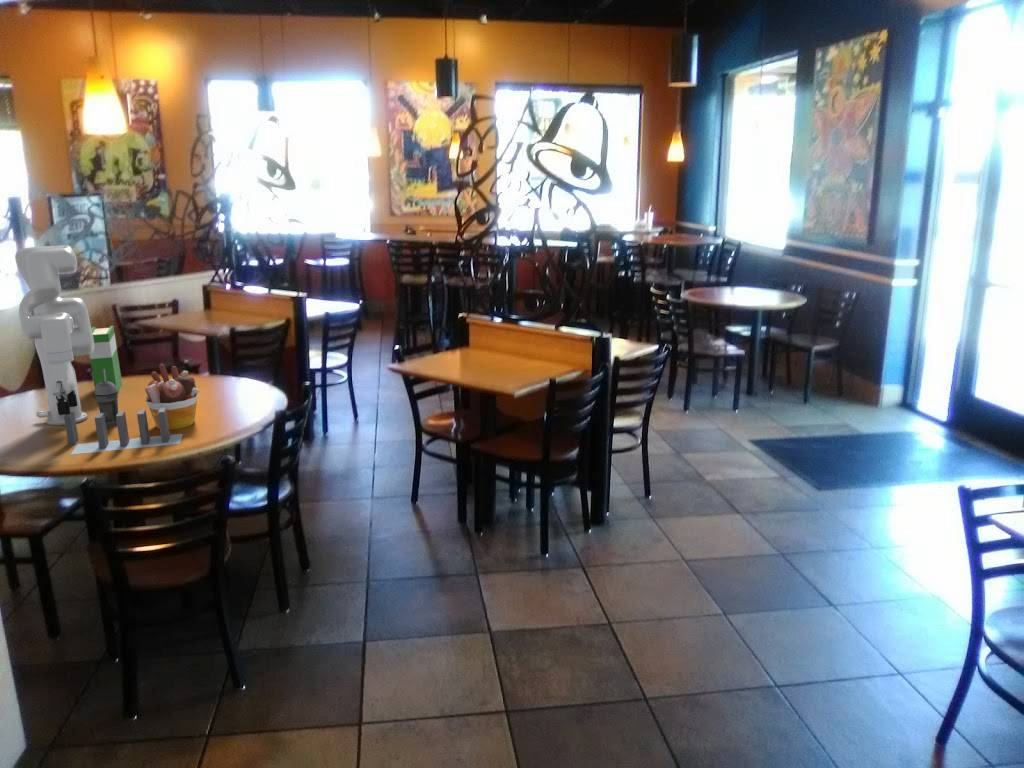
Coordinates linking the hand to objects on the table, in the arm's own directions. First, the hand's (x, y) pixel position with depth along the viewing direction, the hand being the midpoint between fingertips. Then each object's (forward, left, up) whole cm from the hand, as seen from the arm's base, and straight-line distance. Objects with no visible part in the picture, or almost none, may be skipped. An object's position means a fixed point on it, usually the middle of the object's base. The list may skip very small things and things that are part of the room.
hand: (68, 410), depth 254 cm
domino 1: (0, +1, -11) cm, 11 cm away
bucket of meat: (+29, +11, -12) cm, 33 cm away
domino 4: (+22, -6, -11) cm, 25 cm away
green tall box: (-1, +68, -12) cm, 69 cm away
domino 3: (+16, -6, -11) cm, 20 cm away
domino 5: (+28, -6, -11) cm, 30 cm away
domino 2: (+10, -6, -11) cm, 16 cm away
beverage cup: (+8, +18, -12) cm, 23 cm away
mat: (+17, -6, -11) cm, 21 cm away
